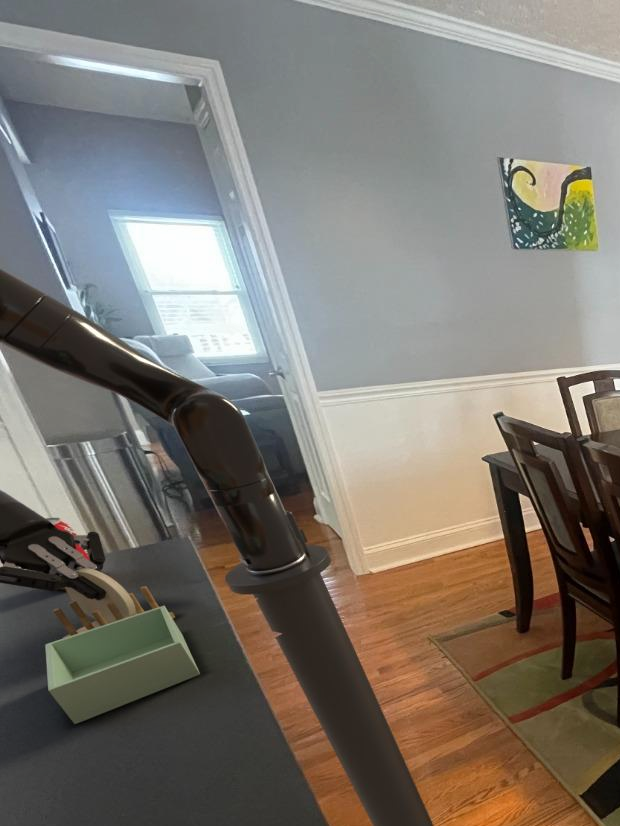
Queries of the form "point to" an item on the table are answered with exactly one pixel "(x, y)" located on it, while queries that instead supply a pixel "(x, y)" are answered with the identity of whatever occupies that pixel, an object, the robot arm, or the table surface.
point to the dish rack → (98, 616)
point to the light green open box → (117, 664)
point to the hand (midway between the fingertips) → (108, 593)
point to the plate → (113, 594)
